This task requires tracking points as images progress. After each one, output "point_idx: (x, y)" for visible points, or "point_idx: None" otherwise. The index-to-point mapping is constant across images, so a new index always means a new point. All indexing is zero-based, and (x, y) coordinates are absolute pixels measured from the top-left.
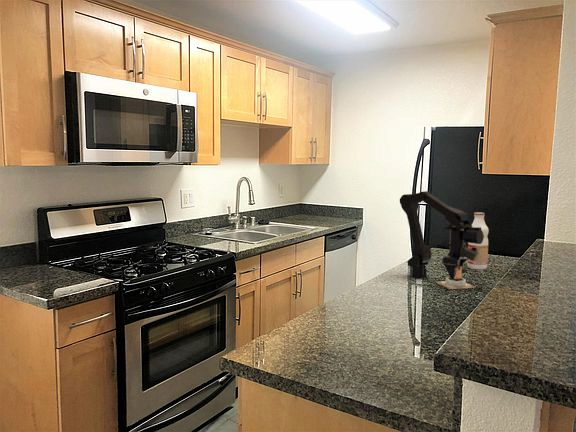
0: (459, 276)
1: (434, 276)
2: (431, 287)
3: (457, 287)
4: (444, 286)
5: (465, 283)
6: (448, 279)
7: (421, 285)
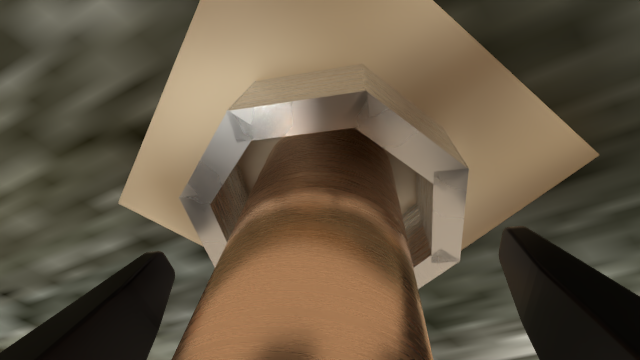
0: (360, 209)
1: (171, 357)
2: (489, 294)
3: (456, 109)
4: (488, 231)
5: (263, 86)
6: (421, 277)
7: (466, 347)
